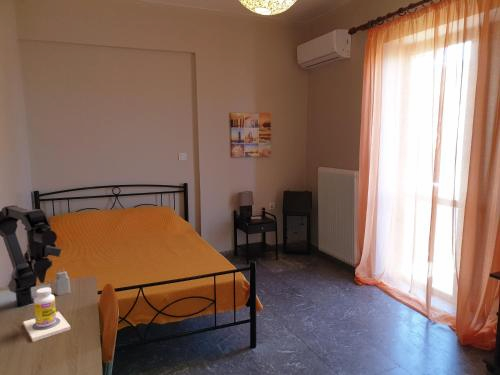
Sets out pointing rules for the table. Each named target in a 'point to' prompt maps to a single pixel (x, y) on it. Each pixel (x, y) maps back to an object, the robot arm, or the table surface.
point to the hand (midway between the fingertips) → (39, 279)
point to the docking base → (46, 328)
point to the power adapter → (62, 283)
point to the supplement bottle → (44, 307)
